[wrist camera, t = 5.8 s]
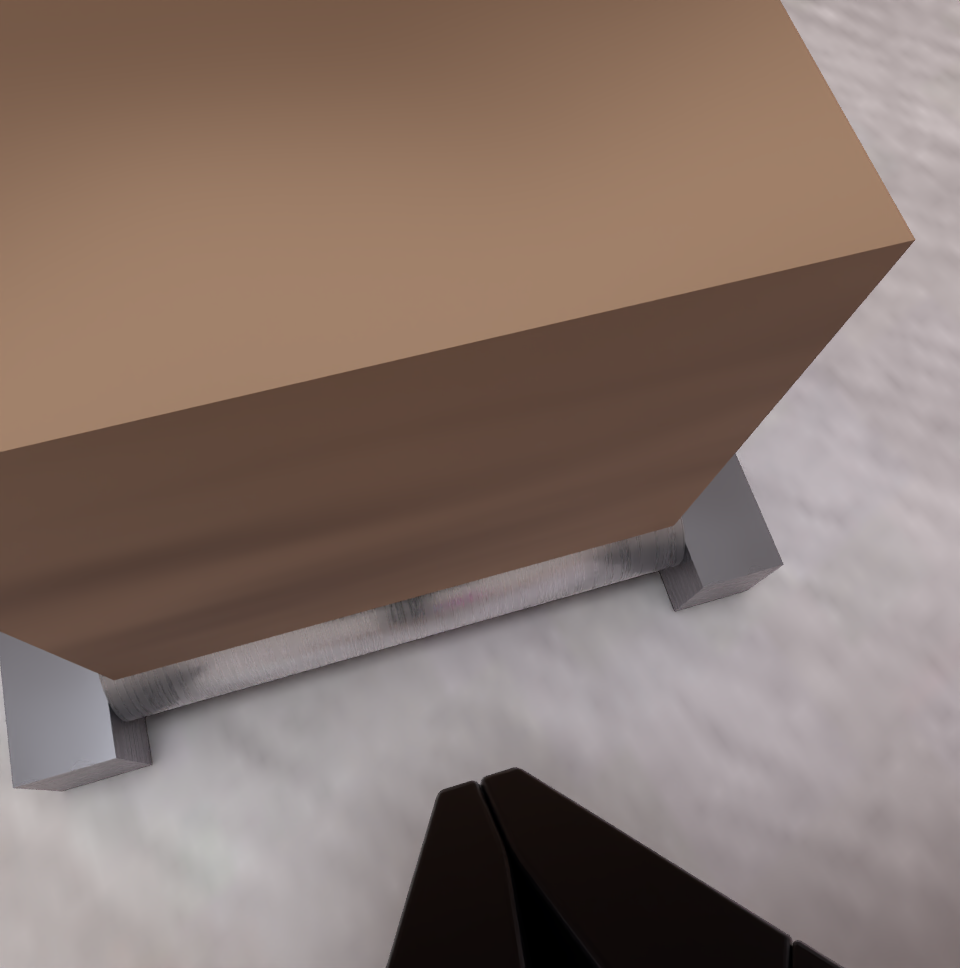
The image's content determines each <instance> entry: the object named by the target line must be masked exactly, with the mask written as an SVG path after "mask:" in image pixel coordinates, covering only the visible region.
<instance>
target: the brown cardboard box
mask: <svg viewBox="0 0 960 968" xmlns="http://www.w3.org/2000/svg"><path fill="white" fill-rule="evenodd" d="M914 241H915V238H914V236H913V235H912V233H911V231H910V229H909V228H908V226H907V224H906V222H905V221H904V219H903V217H902V215H901V213H900V212H899V210H898V208H897V206H896V205H895V203H894V201H893V199H892V198H891V196H890V194H889V192H888V190H887V189H886V187H885V185H884V183H883V182H882V180H881V178H880V176H879V175H878V173H877V171H876V169H875V167H874V166H873V164H872V162H871V160H870V159H869V157H868V155H867V153H866V152H865V150H864V148H863V146H862V144H861V143H860V141H859V139H858V137H857V136H856V134H855V132H854V130H853V129H852V127H851V125H850V123H849V121H848V120H847V118H846V116H845V114H844V113H843V111H842V109H841V107H840V106H839V104H838V102H837V100H836V98H835V97H834V95H833V93H832V91H831V90H830V88H829V86H828V84H827V83H826V81H825V79H824V77H823V75H822V74H821V72H820V70H819V68H818V67H817V65H816V63H815V61H814V60H813V58H812V56H811V54H810V52H809V51H808V49H807V47H806V45H805V44H804V42H803V40H802V38H801V37H800V35H799V33H798V31H797V29H796V28H795V26H794V24H793V22H792V21H791V19H790V17H789V15H788V14H787V12H786V10H785V8H784V6H783V5H782V3H781V1H780V0H0V632H2V633H5V634H7V635H9V636H12V637H14V638H16V639H19V640H21V641H23V642H26V643H28V644H30V645H33V646H35V647H37V648H40V649H42V650H44V651H47V652H49V653H51V654H54V655H56V656H58V657H61V658H63V659H65V660H68V661H70V662H72V663H75V664H77V665H79V666H82V667H84V668H86V669H89V670H91V671H93V672H96V673H98V674H100V675H103V676H105V677H107V678H110V679H112V680H118V679H121V678H125V677H129V676H132V675H136V674H140V673H143V672H147V671H150V670H154V669H158V668H161V667H165V666H169V665H172V664H176V663H179V662H183V661H187V660H190V659H194V658H197V657H201V656H205V655H208V654H212V653H216V652H219V651H223V650H226V649H230V648H234V647H237V646H241V645H244V644H248V643H252V642H255V641H259V640H263V639H266V638H270V637H273V636H277V635H281V634H284V633H288V632H292V631H295V630H299V629H302V628H306V627H310V626H313V625H317V624H320V623H324V622H328V621H331V620H335V619H339V618H342V617H346V616H349V615H353V614H357V613H360V612H364V611H367V610H371V609H375V608H378V607H382V606H386V605H389V604H393V603H396V602H400V601H404V600H407V599H411V598H415V597H418V596H422V595H425V594H429V593H433V592H436V591H440V590H443V589H447V588H451V587H454V586H458V585H462V584H465V583H469V582H472V581H476V580H480V579H483V578H487V577H490V576H494V575H498V574H501V573H505V572H509V571H512V570H516V569H519V568H523V567H527V566H530V565H534V564H537V563H541V562H545V561H548V560H552V559H556V558H559V557H563V556H566V555H570V554H574V553H577V552H581V551H585V550H588V549H592V548H595V547H599V546H603V545H606V544H610V543H613V542H617V541H621V540H624V539H628V538H632V537H635V536H639V535H642V534H646V533H650V532H653V531H657V530H660V529H664V528H668V527H671V526H674V525H675V524H676V523H677V521H678V520H679V519H680V518H681V517H682V516H683V514H684V513H685V512H686V511H687V510H688V508H689V507H690V506H691V505H692V504H693V503H694V501H695V500H696V499H697V498H698V497H699V495H700V494H701V493H702V492H703V491H704V489H705V488H706V487H707V486H708V485H709V484H710V482H711V481H712V480H713V479H714V478H715V476H716V475H717V474H718V473H719V472H720V471H721V469H722V468H723V467H724V466H725V465H726V463H727V462H728V461H729V460H730V459H731V458H732V456H733V455H734V454H735V453H736V452H737V450H738V449H739V448H740V447H741V446H742V444H743V443H744V442H745V441H746V440H747V439H748V437H749V436H750V435H751V434H752V433H753V431H754V430H755V429H756V428H757V427H758V426H759V424H760V423H761V422H762V421H763V420H764V418H765V417H766V416H767V415H768V414H769V413H770V411H771V410H772V409H773V408H774V407H775V405H776V404H777V403H778V402H779V401H780V399H781V398H782V397H783V396H784V395H785V394H786V392H787V391H788V390H789V389H790V388H791V386H792V385H793V384H794V383H795V382H796V381H797V379H798V378H799V377H800V376H801V375H802V373H803V372H804V371H805V370H806V369H807V367H808V366H809V365H810V364H811V363H812V362H813V360H814V359H815V358H816V357H817V356H818V354H819V353H820V352H821V351H822V350H823V349H824V347H825V346H826V345H827V344H828V343H829V341H830V340H831V339H832V338H833V337H834V336H835V334H836V333H837V332H838V331H839V330H840V328H841V327H842V326H843V325H844V324H845V322H846V321H847V320H848V319H849V318H850V317H851V315H852V314H853V313H854V312H855V311H856V309H857V308H858V307H859V306H860V305H861V304H862V302H863V301H864V300H865V299H866V298H867V296H868V295H869V294H870V293H871V292H872V290H873V289H874V288H875V287H876V286H877V285H878V283H879V282H880V281H881V280H882V279H883V277H884V276H885V275H886V274H887V273H888V272H889V270H890V269H891V268H892V267H893V266H894V264H895V263H896V262H897V261H898V260H899V259H900V257H901V256H902V255H903V254H904V253H905V251H906V250H907V249H908V248H909V247H910V245H911V244H912V243H913V242H914Z"/></svg>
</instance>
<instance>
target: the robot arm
mask: <svg viewBox="0 0 960 968" xmlns="http://www.w3.org/2000/svg"><path fill="white" fill-rule="evenodd" d="M386 968H844V967H842V966H840V965H839V964H837V963H836V962H834V961H832V960H831V959H829V958H828V957H826V956H824V955H823V954H821V953H819V952H818V951H816V950H815V949H813V948H811V947H810V946H808V945H807V944H805V943H803V942H802V941H799V940H797V941H795V942H794V943H792V938H791V937H790V936H789V935H788V934H786V933H785V932H783V931H781V930H780V929H778V928H777V927H775V926H773V925H772V924H770V923H769V922H767V921H765V920H764V919H762V918H760V917H759V916H757V915H756V914H754V913H752V912H751V911H749V910H748V909H746V908H744V907H743V906H741V905H740V904H738V903H736V902H735V901H733V900H732V899H730V898H728V897H727V896H725V895H724V894H722V893H720V892H719V891H717V890H715V889H714V888H712V887H711V886H709V885H707V884H706V883H704V882H703V881H701V880H699V879H698V878H696V877H695V876H693V875H691V874H690V873H688V872H687V871H685V870H683V869H682V868H680V867H678V866H677V865H675V864H674V863H672V862H670V861H669V860H667V859H666V858H664V857H662V856H661V855H659V854H658V853H656V852H654V851H653V850H651V849H650V848H648V847H646V846H645V845H643V844H642V843H640V842H638V841H637V840H635V839H633V838H632V837H630V836H629V835H627V834H625V833H624V832H622V831H621V830H619V829H617V828H616V827H614V826H613V825H611V824H609V823H608V822H606V821H605V820H603V819H601V818H600V817H598V816H597V815H595V814H593V813H592V812H590V811H588V810H587V809H585V808H584V807H582V806H580V805H579V804H577V803H576V802H574V801H572V800H571V799H569V798H568V797H566V796H564V795H563V794H561V793H560V792H558V791H556V790H555V789H553V788H552V787H550V786H548V785H547V784H545V783H543V782H542V781H540V780H539V779H537V778H535V777H534V776H532V775H531V774H529V773H527V772H526V771H524V770H523V769H520V768H517V767H515V768H510V769H507V770H504V771H501V772H498V773H494V774H491V775H488V776H485V777H483V779H482V780H481V783H480V785H479V784H478V783H477V782H476V781H469V782H466V783H462V784H459V785H456V786H453V787H449V788H446V789H443V790H441V791H440V792H439V793H438V795H437V798H436V800H435V804H434V807H433V811H432V814H431V817H430V821H429V824H428V827H427V831H426V834H425V838H424V841H423V844H422V848H421V851H420V855H419V858H418V861H417V865H416V868H415V871H414V875H413V878H412V882H411V885H410V888H409V892H408V895H407V898H406V902H405V905H404V909H403V912H402V915H401V919H400V922H399V925H398V929H397V932H396V936H395V939H394V942H393V946H392V949H391V952H390V956H389V959H388V963H387V966H386Z"/></svg>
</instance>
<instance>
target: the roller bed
mask: <svg viewBox="0 0 960 968" xmlns="http://www.w3.org/2000/svg"><path fill="white" fill-rule="evenodd" d="M782 565H784V564H783V562H782V560H781V558H780V555H779V553H778V551H777V548H776V546H775V544H774V541H773V539H772V537H771V534H770V532H769V530H768V528H767V525H766V523H765V521H764V518H763V516H762V514H761V511H760V509H759V507H758V504H757V502H756V500H755V498H754V495H753V493H752V491H751V488H750V486H749V484H748V481H747V479H746V477H745V474H744V472H743V470H742V468H741V465H740V463H739V461H738V458H737V456H736V454H734V455H733V456H732V458H731V459H730V460H729V461H728V462H727V463H726V465H725V466H724V467H723V468H722V469H721V471H720V472H719V473H718V474H717V475H716V476H715V478H714V479H713V480H712V481H711V482H710V484H709V485H708V486H707V487H706V488H705V489H704V491H703V492H702V493H701V494H700V495H699V497H698V498H697V499H696V500H695V501H694V503H693V504H692V505H691V506H690V507H689V508H688V510H687V511H686V512H685V513H684V514H683V516H682V517H681V518H680V519H679V520H678V521H677V523H676V524H675V525H674V526H671V527H668V528H664V529H660V530H657V531H653V532H650V533H646V534H642V535H639V536H635V537H632V538H628V539H624V540H621V541H617V542H613V543H610V544H606V545H603V546H599V547H595V548H592V549H588V550H585V551H581V552H577V553H574V554H570V555H566V556H563V557H559V558H556V559H552V560H548V561H545V562H541V563H537V564H534V565H530V566H527V567H523V568H519V569H516V570H512V571H509V572H505V573H501V574H498V575H494V576H490V577H487V578H483V579H480V580H476V581H472V582H469V583H465V584H462V585H458V586H454V587H451V588H447V589H443V590H440V591H436V592H433V593H429V594H425V595H422V596H418V597H415V598H411V599H407V600H404V601H400V602H396V603H393V604H389V605H386V606H382V607H378V608H375V609H371V610H367V611H364V612H360V613H357V614H353V615H349V616H346V617H342V618H339V619H335V620H331V621H328V622H324V623H320V624H317V625H313V626H310V627H306V628H302V629H299V630H295V631H292V632H288V633H284V634H281V635H277V636H273V637H270V638H266V639H263V640H259V641H255V642H252V643H248V644H244V645H241V646H237V647H234V648H230V649H226V650H223V651H219V652H216V653H212V654H208V655H205V656H201V657H197V658H194V659H190V660H187V661H183V662H179V663H176V664H172V665H169V666H165V667H161V668H158V669H154V670H150V671H147V672H143V673H140V674H136V675H132V676H129V677H125V678H121V679H118V680H112V679H110V678H107V677H105V676H103V675H100V674H98V673H96V672H93V671H91V670H89V669H86V668H84V667H82V666H79V665H77V664H75V663H72V662H70V661H68V660H65V659H63V658H61V657H58V656H56V655H54V654H51V653H49V652H47V651H44V650H42V649H40V648H37V647H35V646H33V645H30V644H28V643H26V642H23V641H21V640H19V639H16V638H14V637H12V636H9V635H7V634H5V633H2V632H0V666H1V675H2V685H3V695H4V705H5V714H6V724H7V734H8V744H9V753H10V763H11V773H12V783H13V788H21V789H36V790H51V791H64V790H67V789H71V788H74V787H78V786H81V785H84V784H88V783H91V782H95V781H98V780H101V779H105V778H108V777H112V776H115V775H119V774H122V773H125V772H129V771H132V770H136V769H139V768H142V767H146V766H149V765H152V762H151V755H150V749H149V743H148V736H147V730H146V723H145V716H149V715H152V714H156V713H159V712H163V711H166V710H170V709H173V708H177V707H180V706H184V705H187V704H191V703H194V702H198V701H201V700H205V699H208V698H212V697H215V696H219V695H222V694H226V693H229V692H233V691H237V690H240V689H244V688H247V687H251V686H254V685H258V684H261V683H265V682H268V681H272V680H275V679H279V678H282V677H286V676H289V675H293V674H296V673H300V672H303V671H307V670H310V669H314V668H317V667H321V666H324V665H328V664H332V663H335V662H339V661H342V660H346V659H349V658H353V657H356V656H360V655H363V654H367V653H370V652H374V651H377V650H381V649H384V648H388V647H391V646H395V645H398V644H402V643H405V642H409V641H412V640H416V639H419V638H423V637H426V636H430V635H434V634H437V633H441V632H444V631H448V630H451V629H455V628H458V627H462V626H465V625H469V624H472V623H476V622H479V621H483V620H486V619H490V618H493V617H497V616H500V615H504V614H507V613H511V612H514V611H518V610H521V609H525V608H529V607H532V606H536V605H539V604H543V603H546V602H550V601H553V600H557V599H560V598H564V597H567V596H571V595H574V594H578V593H581V592H585V591H588V590H592V589H595V588H599V587H602V586H606V585H609V584H613V583H616V582H620V581H623V580H627V579H631V578H634V577H638V576H641V575H645V574H648V573H652V572H655V571H660V574H661V577H662V579H663V582H664V584H665V587H666V590H667V592H668V595H669V598H670V600H671V603H672V605H673V608H674V611H678V610H681V609H685V608H688V607H692V606H695V605H699V604H702V603H705V602H709V601H712V600H716V599H719V598H722V597H726V596H729V595H733V594H736V593H739V592H743V591H746V590H748V589H750V588H751V587H752V586H754V585H755V584H757V583H758V582H760V581H761V580H762V579H764V578H765V577H767V576H768V575H769V574H771V573H772V572H774V571H775V570H776V569H778V568H779V567H781V566H782Z"/></svg>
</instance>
